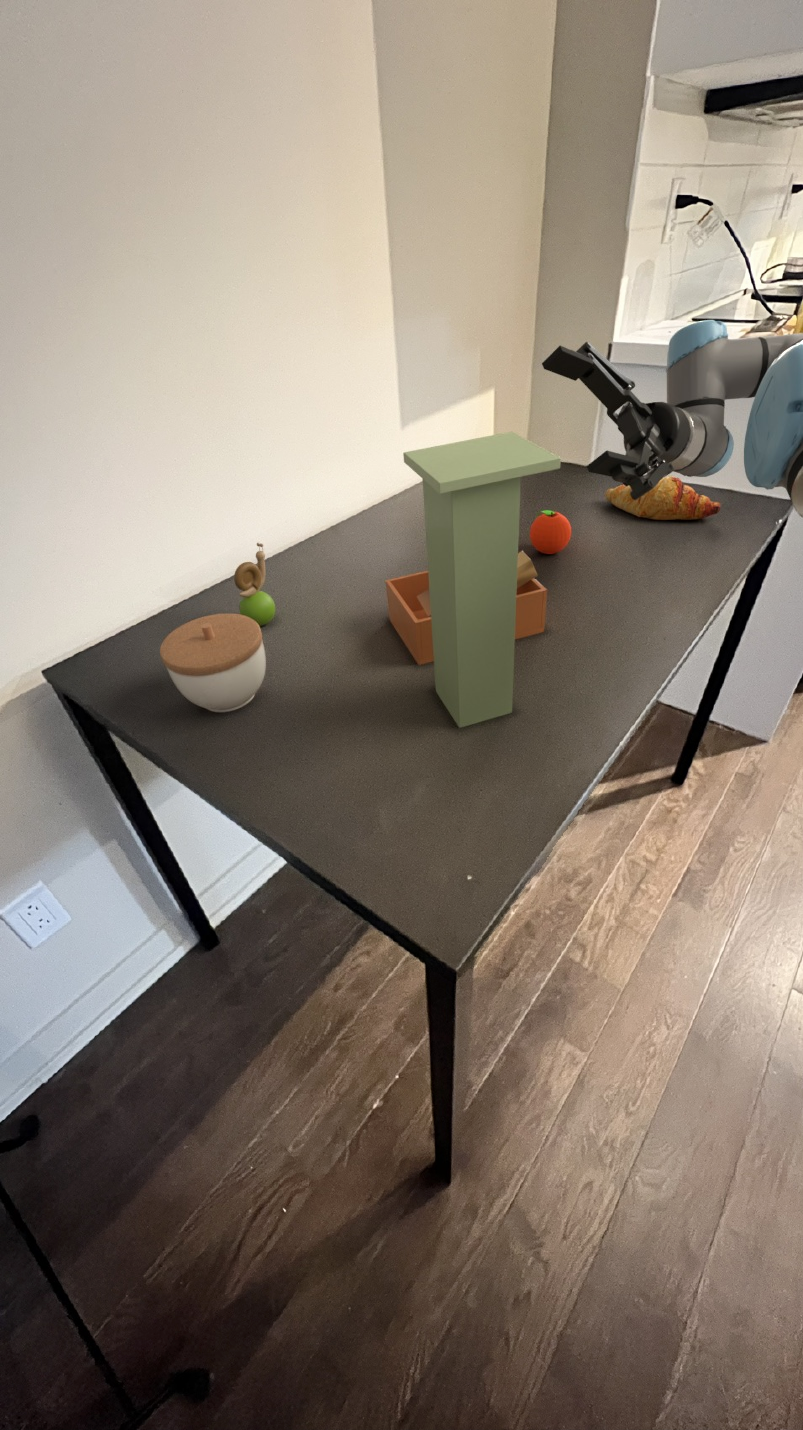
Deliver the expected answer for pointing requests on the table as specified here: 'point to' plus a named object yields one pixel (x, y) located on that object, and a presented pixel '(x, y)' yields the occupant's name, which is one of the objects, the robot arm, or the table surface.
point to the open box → (418, 625)
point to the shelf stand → (475, 565)
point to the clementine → (550, 532)
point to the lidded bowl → (216, 660)
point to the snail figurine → (254, 590)
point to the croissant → (664, 501)
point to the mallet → (523, 576)
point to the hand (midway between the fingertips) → (574, 408)
